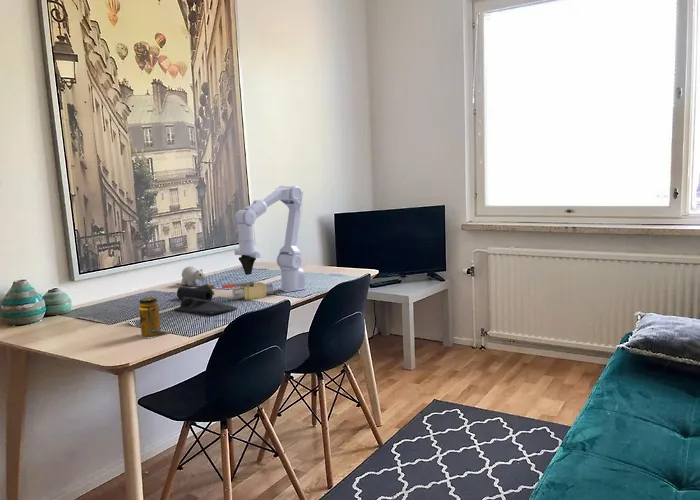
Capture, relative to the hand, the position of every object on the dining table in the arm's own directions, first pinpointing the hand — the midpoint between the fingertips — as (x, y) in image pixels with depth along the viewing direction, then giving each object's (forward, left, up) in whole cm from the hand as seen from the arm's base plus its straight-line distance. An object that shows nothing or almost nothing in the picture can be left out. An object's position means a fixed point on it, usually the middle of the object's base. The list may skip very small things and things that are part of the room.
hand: (248, 274), depth 238 cm
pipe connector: (+15, -16, -11) cm, 25 cm away
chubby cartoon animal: (+10, -43, -11) cm, 45 cm away
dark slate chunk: (+19, +4, -11) cm, 23 cm away
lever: (+2, -5, -5) cm, 8 cm away
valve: (-3, -4, -10) cm, 12 cm away
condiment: (+43, +26, -11) cm, 51 cm away
